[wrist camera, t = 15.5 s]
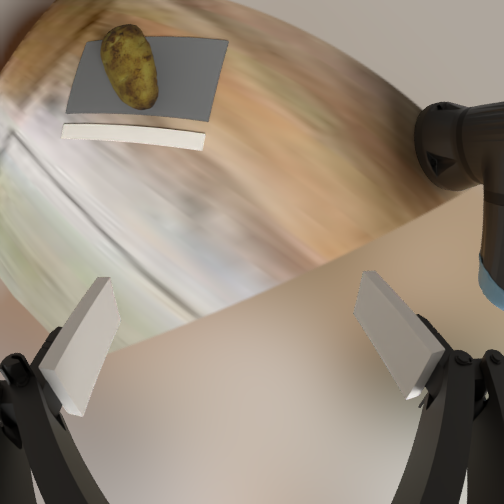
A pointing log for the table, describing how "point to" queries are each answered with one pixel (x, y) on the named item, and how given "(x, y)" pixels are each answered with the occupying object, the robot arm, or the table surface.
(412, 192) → the table surface
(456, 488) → the robot arm
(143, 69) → the potato
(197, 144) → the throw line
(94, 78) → the mat
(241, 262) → the table surface
